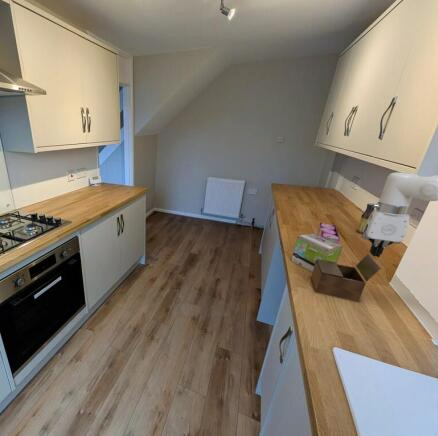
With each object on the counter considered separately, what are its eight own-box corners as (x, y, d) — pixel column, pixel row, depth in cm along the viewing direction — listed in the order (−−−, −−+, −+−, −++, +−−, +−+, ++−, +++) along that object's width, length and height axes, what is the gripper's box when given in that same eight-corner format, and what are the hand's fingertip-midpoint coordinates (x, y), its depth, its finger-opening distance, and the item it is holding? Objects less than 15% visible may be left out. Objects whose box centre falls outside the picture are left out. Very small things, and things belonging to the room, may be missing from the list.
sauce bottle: (364, 231, 158) (374, 202, 152) (371, 235, 153) (382, 205, 146) (353, 230, 159) (363, 202, 152) (360, 234, 153) (370, 205, 146)
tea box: (290, 261, 120) (296, 235, 115) (304, 258, 124) (311, 232, 119) (319, 277, 107) (328, 248, 102) (334, 273, 110) (343, 245, 105)
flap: (355, 266, 98) (356, 266, 98) (366, 281, 88) (366, 281, 88) (367, 253, 95) (368, 254, 95) (380, 267, 85) (381, 268, 85)
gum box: (313, 242, 141) (319, 221, 137) (329, 246, 137) (336, 224, 133) (314, 259, 122) (321, 235, 118) (333, 264, 118) (341, 239, 114)
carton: (348, 286, 101) (355, 265, 98) (357, 303, 91) (366, 281, 88) (310, 278, 107) (316, 258, 103) (315, 293, 97) (322, 272, 93)
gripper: (368, 208, 82) (353, 255, 89) (427, 214, 77) (406, 264, 83) (361, 203, 89) (346, 247, 95) (414, 208, 83) (395, 254, 89)
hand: (374, 255), depth 89 cm, fingers closed
